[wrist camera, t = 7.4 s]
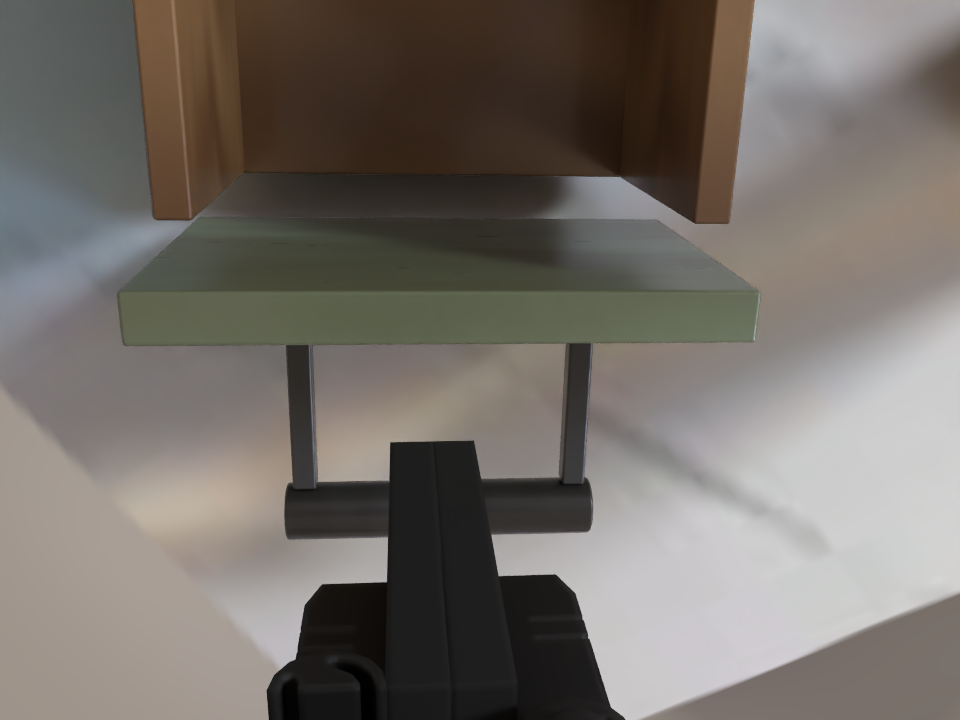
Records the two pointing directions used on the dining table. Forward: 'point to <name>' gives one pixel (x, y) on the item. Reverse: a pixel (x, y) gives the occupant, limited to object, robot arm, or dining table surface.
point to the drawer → (439, 241)
